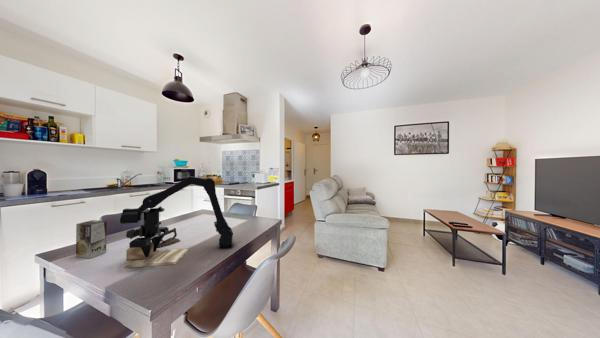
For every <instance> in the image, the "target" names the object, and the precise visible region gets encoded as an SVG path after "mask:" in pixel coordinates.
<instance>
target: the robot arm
mask: <svg viewBox="0 0 600 338" xmlns="http://www.w3.org/2000/svg"><path fill="white" fill-rule="evenodd" d="M190 185H194V186H198V187H203V189H204V190H205V192H206V194H207V196H208V198H209V201H210V204H211V207H212V210H213V212H214V213H213V214H214V216H215V220H216V221H213V225H214V227H215V231H216V233H217V234H219V235H220V237H219V238H218V246H219V247H218V249H231V248H232V247H233V245H234V232H233V229H232V228H231V226H229V223H228V221H226V219H225V216H224V215H223V212H222V209H221V206H220V202H219V200H218V196H217V192H216V183H215V180H214V179H213V178H212V177H206V178H203V177H196V176H192V175H190V176H187V177H186V178H185V179H182V180H181V181H179V182H177V183H175V184H174V185H172V186H170V187H168V188H166V189H164V190H162V191H158V192H155V193H152V194H150V195H148V196H146V197H145V198H143V201H142V204H141V205H140V206H139V207H138V208H124V209H123V210H122V213H121V215H120V219H119V221H120V222H119V223H120V225H128V224H139V223H140V221H143V224H141V225H140V227H138V228H135V229H130V230H127V231H126V232H125V233H126V238H127V239H129V240H131V241H130V242H129V243H128V244H129V246H128V247H129V248H135V247H140V248H141V249H142V251H143V253H144V255H145V257H148V256H149V254H150V252H151V249H152V246H153V252H155V251H157V249H159V248H158V246H159V244H160V243H161V242H162V241H163V239H164V238H165V236H166V235H162V233H164V234H166V233H168V232H169V230H170V229H169V227H168V226H160V225H161V224H162V221H160V213H162V212H164V211H165V210H166V209H165V208H163V207H162V205H160V204H161V203H162V202H163V201H165V200H166V199H167V198H170V197H171V196H172V195H174V194H177V192H179V191H181V190H183V189H185V188H187V187H188V186H190ZM159 205H160V206H159ZM157 206H158V207H157ZM148 209H149V210H148ZM132 239H133V240H132ZM153 244H154V245H153Z"/></svg>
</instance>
